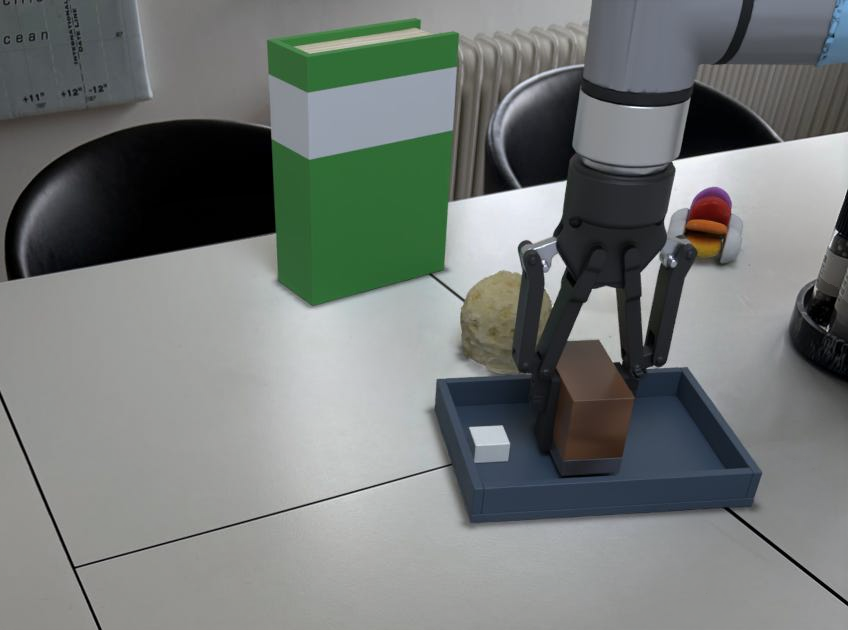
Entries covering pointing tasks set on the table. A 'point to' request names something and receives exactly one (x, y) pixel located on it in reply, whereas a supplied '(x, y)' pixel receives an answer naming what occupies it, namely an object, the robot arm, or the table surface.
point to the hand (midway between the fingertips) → (574, 439)
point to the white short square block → (488, 444)
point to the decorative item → (495, 321)
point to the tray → (609, 492)
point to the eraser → (590, 411)
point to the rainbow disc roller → (710, 225)
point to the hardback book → (361, 155)
